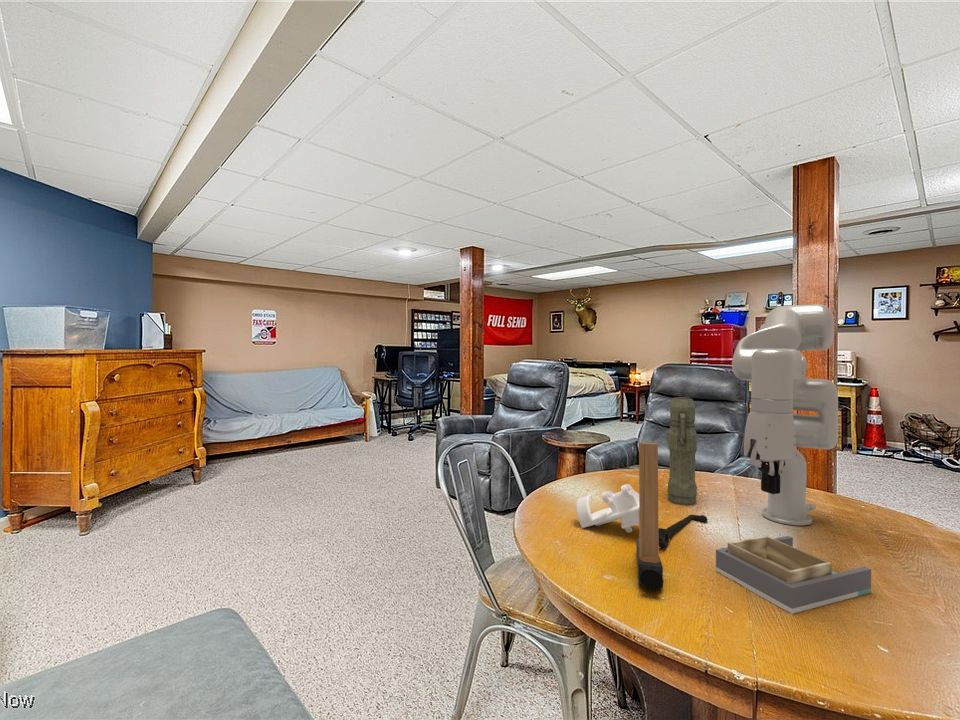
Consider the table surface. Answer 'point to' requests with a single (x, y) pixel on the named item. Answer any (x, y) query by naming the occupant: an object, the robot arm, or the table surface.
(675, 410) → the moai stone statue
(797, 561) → the crate
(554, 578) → the table surface
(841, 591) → the bay
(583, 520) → the white plastic bracket
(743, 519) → the table surface
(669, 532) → the wrench
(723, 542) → the table surface
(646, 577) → the hammer
